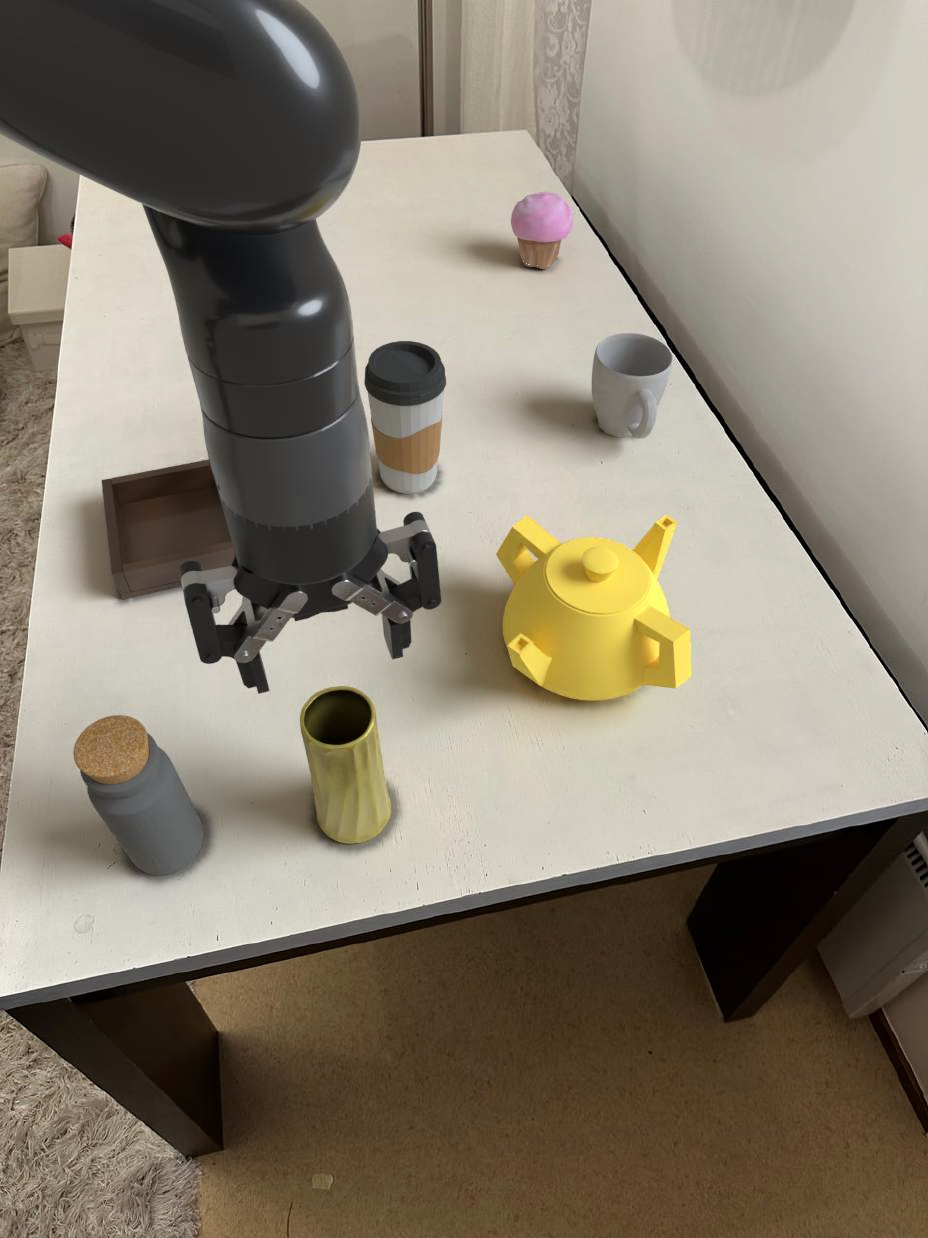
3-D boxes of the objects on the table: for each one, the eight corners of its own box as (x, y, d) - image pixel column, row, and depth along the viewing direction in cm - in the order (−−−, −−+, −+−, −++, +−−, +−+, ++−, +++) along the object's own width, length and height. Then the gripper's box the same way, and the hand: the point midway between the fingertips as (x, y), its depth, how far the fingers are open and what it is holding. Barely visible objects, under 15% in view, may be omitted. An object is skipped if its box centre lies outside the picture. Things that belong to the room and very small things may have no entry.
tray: (122, 600, 83) (111, 574, 80) (112, 506, 91) (101, 479, 88) (264, 568, 86) (258, 541, 83) (241, 480, 94) (235, 453, 91)
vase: (305, 795, 70) (280, 699, 59) (373, 765, 72) (361, 667, 61) (333, 857, 67) (311, 768, 56) (403, 825, 69) (396, 732, 57)
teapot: (681, 720, 75) (715, 638, 66) (496, 717, 75) (504, 634, 66) (655, 581, 86) (681, 493, 77) (492, 578, 86) (499, 489, 77)
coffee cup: (415, 443, 99) (412, 328, 87) (460, 480, 95) (463, 365, 83) (357, 472, 96) (346, 356, 84) (401, 512, 92) (396, 397, 80)
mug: (574, 405, 104) (585, 335, 97) (642, 397, 106) (657, 328, 98) (604, 468, 97) (618, 398, 90) (676, 459, 98) (696, 390, 91)
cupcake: (571, 253, 128) (580, 186, 120) (561, 282, 123) (570, 213, 115) (514, 245, 129) (519, 178, 122) (502, 273, 124) (506, 204, 116)
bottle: (130, 885, 65) (63, 794, 53) (127, 817, 68) (63, 718, 57) (208, 865, 66) (158, 771, 54) (201, 800, 70) (153, 698, 58)
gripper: (151, 554, 37) (225, 744, 50) (457, 487, 40) (454, 682, 53) (135, 449, 42) (207, 647, 54) (412, 396, 45) (419, 595, 57)
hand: (329, 664), depth 53 cm, fingers open, 8 cm apart
